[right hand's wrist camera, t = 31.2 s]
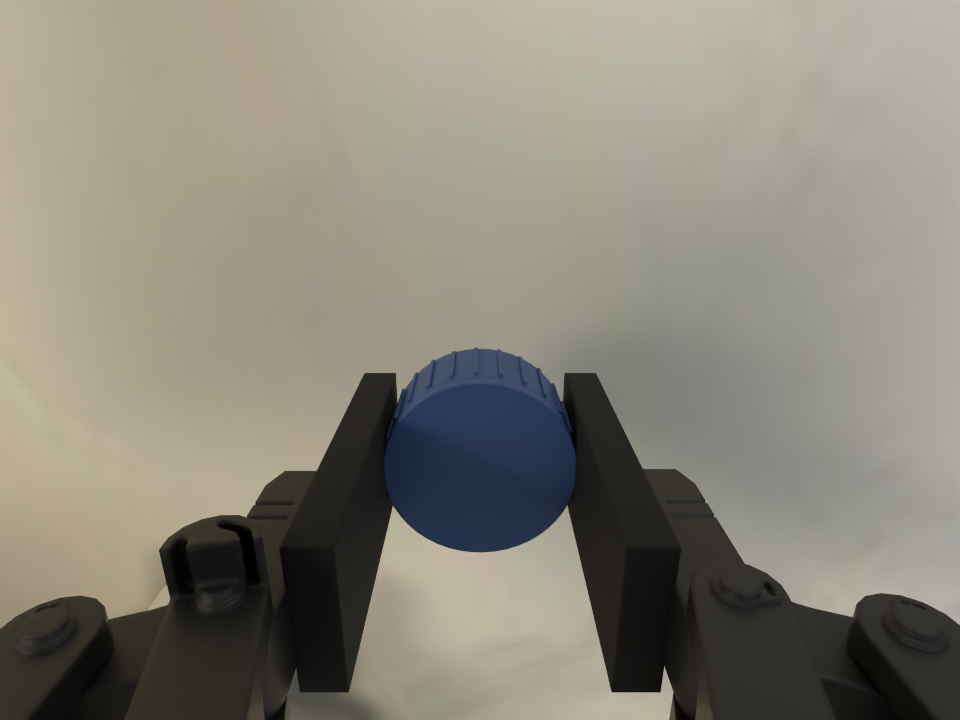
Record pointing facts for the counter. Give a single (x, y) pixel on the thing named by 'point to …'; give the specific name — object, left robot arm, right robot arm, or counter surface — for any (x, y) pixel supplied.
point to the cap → (480, 452)
